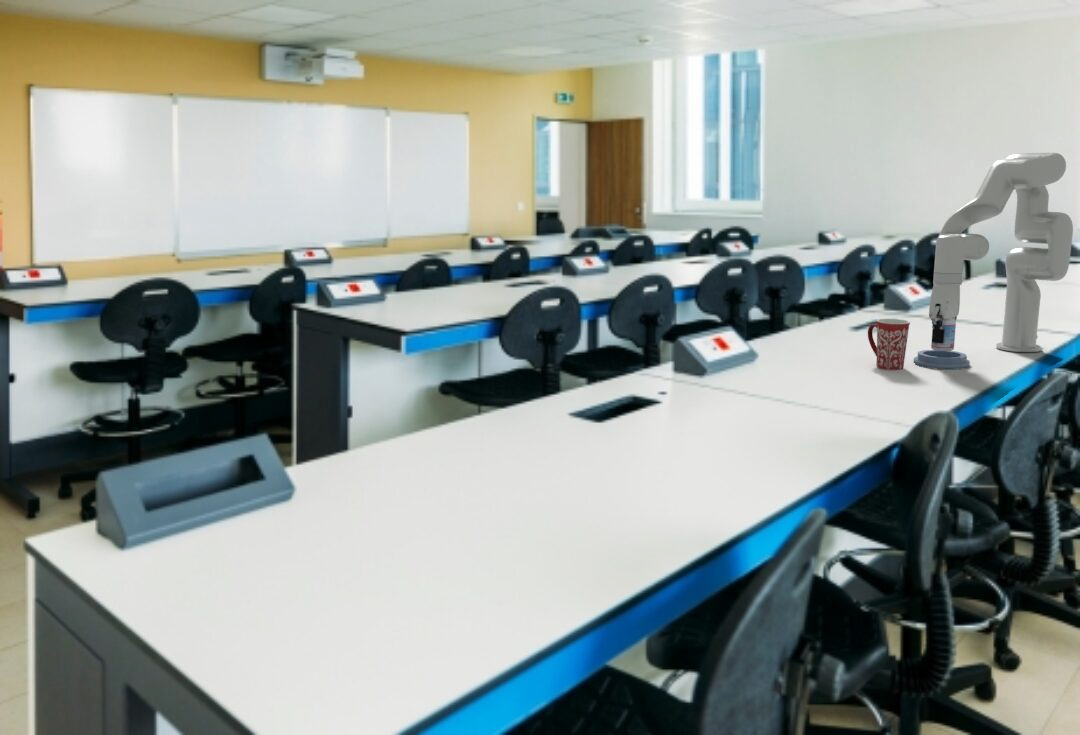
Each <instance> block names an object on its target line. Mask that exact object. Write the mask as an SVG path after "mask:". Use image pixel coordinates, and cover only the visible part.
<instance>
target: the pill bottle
mask: <svg viewBox="0 0 1080 735" xmlns="http://www.w3.org/2000/svg"><path fill="white" fill-rule="evenodd" d="M953 316H954V312H952V314H951V318H949V319H946V320H945V323H944V327H943V329H945V331H944V342H943V343H934V342H932V341H931V344H930V346H931V350H938V351H954V350H955V339H956V328H957V327H956V326H957V325H956V324H957V322H955V320H954V319H953V318H952V317H953ZM938 318H942V317H940V316H938ZM940 324H941V321H940ZM932 331H933V328H932V330H931V332H932Z"/></svg>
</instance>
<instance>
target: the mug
mask: <svg viewBox="0 0 1080 735" xmlns="http://www.w3.org/2000/svg"><path fill="white" fill-rule="evenodd" d="M910 324H911V321H909V320H907V319H901V318H900V319H899V318H879V319H876V323H873V324H870V325H869V327H868V330H867V339H868V342H869V344H870V347H871V349H872V351H873V354H874V355H875V356H876V367H877V368H878V369H881V370H888V371H898V370H904V366H905V358H906V351H907V344H908V337H909V329H910ZM874 328H876V343H875V340H874V336H873V331H874Z"/></svg>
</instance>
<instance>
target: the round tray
mask: <svg viewBox="0 0 1080 735" xmlns="http://www.w3.org/2000/svg"><path fill="white" fill-rule="evenodd" d="M914 363H915V364H914ZM913 364H914V365H916V366H918V365H919V367H922V366H923V368H927V367H929V368H930V369H935V368H937V370H963V369H962V368H964V369H968V368H969V367H970V364H971V361H970V360H968V356H967V354H966V353H963V352H959V351H956V350H952V351H938V350H933V349H927V350H926V349H925V350H920V351H917V356H915V357H914V358H913ZM967 367H968V368H967Z"/></svg>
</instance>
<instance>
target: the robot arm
mask: <svg viewBox="0 0 1080 735" xmlns="http://www.w3.org/2000/svg"><path fill="white" fill-rule="evenodd" d="M1066 169H1067V162H1066V158H1064V156H1063V155H1062V154H1061V153H1058V152H1022V153H1014V154H1011V155H1009V156H1007V157H1006V158H1005V159H1000V160H997V161H995V162H994V163H993V164H991V166H990V167H989V170H988V171H987V173H986V176H985V177H984V179H983V181H982V183H981V185H980V187H979V189H978V190H977V192H976V195H975V196H974V198H973V200H971V201H970V202H968V203H967V204H965V205H964V206H962V207H961V208H959V209H958V210H957V211H955V212H954V213H953V214H952V215H951V216H950V217H948V219H947V220H946V221H945V223H944V224H943V226H942V228H941V230H940V231H939V234H938V236H937V237H936V241H935V255H934V266H933V267H934V268H933V280H932V284H933V286H932V289H931V294H930V299H929V301H930V302H929V309H928V317H929V319H930V320H931V324H932V326H931V328H932V329H933V331H932V330H931V332H932V333H931V342H934V343H943V342H944V331H945V329H943V327H944V323H945V320H946V319H949V318H951V314H952V312H954V316H953V317H952V318H953V319H954V320H955V322H956V321H957V317H958V316H959V312H960V304H961V286H960V285H962V284H963V274H964V273H963V270H964V261H979V260H981V259H983V258H984V257H986V256H987V254H988V253H989V250H990V244H989V243H990V242H989V239H988V238H986V237H985V236H984V235H982V234H977V233H966V232H965V233H964V231H965V230H966V229H968V228H970V227H971V226H973V225H976V224H978V223H981V222H983V221H987V220H989V219H992V218H995V217H997V216H999V215H1000V214H1002V212H1003V210H1004V208H1005V207H1006V205H1007V203H1008V201H1009V199H1010V197H1011V196H1012V194H1013V191H1014V190H1015V193H1016V198H1017V199H1016V208H1015V210H1016V212H1015V220H1014V236H1015V238H1016V240H1018V242H1022V243H1029V244H1043V245H1044V244H1045V245H1047V247H1048V248H1045V247H1043V248H1042V247H1028V246H1021V247H1017V248H1013V249H1011V250H1010V251H1009V252H1008V253H1007V255H1006V256H1005V257H1006V258H1005V272H1006V275H1005V276H1006V294H1005V306H1004V316H1003V328H1002V339H1001V340H1002V341H1001V342H997V343H996V345H995V347H996V349H997V350H1001V351H1006V352H1014V353H1036V352H1038V353H1039V352H1041V351H1042V346H1041V345H1039V344H1037V340H1038V328H1039V317H1040V316H1039V315H1040V306H1041V297H1042V296H1041V289H1040V287H1039V284H1038V283H1037V280H1038V281H1046V282H1047V281H1050V282H1054V281H1055V282H1057V281H1061V280H1063V279H1064V278H1065V276H1067V273H1068V270H1069V266H1070V260H1071V253H1072V252H1071V251H1072V242H1073V234H1074V233H1073V232H1074V227H1073V226H1074V224H1073V221H1072V219H1071V217H1070V216H1069V215H1068V214H1067V213H1065V212H1062V211H1049V198H1050V197H1049V191H1048V188H1047V186H1049V185H1051V184H1054V183H1056V182H1058V181H1059V180H1061V179H1062V178H1063V176H1064V174H1065V173H1066ZM938 316H940V317H942V318H938ZM940 321H941V324H940ZM956 323H957V322H956Z"/></svg>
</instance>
